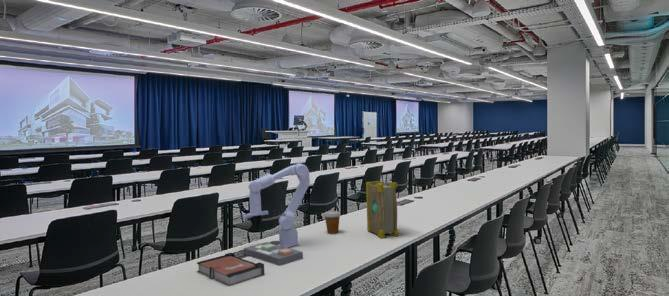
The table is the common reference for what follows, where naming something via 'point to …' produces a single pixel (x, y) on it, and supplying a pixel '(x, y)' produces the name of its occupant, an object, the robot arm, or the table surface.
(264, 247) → the sage key
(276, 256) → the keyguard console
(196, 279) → the table surface
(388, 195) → the decorative book
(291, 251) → the terracotta key
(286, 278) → the table surface
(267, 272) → the table surface
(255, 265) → the book
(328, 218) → the disposable coffee cup
